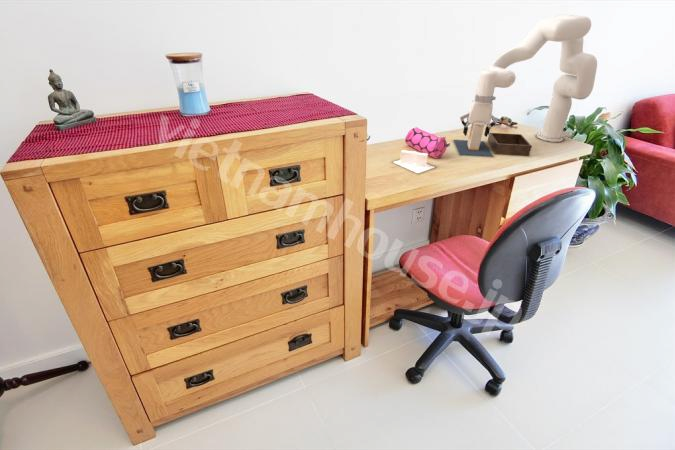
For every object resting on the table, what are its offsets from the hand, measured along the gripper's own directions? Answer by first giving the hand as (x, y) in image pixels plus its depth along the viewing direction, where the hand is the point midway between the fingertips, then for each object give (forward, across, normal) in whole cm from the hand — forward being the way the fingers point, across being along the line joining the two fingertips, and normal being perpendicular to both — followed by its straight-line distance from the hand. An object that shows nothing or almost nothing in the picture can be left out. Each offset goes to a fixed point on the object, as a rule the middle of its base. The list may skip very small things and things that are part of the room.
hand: (475, 135), depth 179 cm
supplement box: (+6, 0, 0) cm, 6 cm away
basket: (+7, -17, -2) cm, 18 cm away
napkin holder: (+7, +30, +25) cm, 40 cm away
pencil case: (+7, +24, +8) cm, 26 cm away
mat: (+7, 0, 0) cm, 7 cm away
